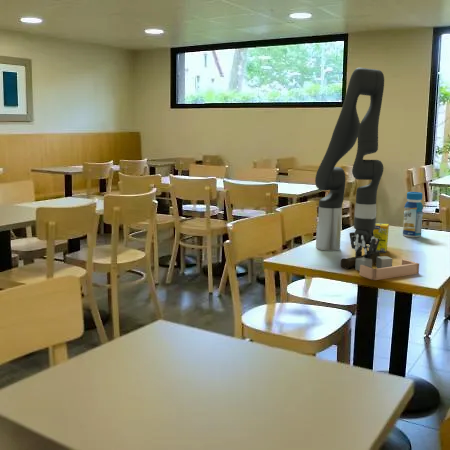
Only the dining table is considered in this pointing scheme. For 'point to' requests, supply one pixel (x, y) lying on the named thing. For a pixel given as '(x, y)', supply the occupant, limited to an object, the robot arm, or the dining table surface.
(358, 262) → the stone
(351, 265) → the hand tool
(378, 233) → the supplement box
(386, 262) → the stone
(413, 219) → the beverage bottle
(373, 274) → the pink rectangular tray
